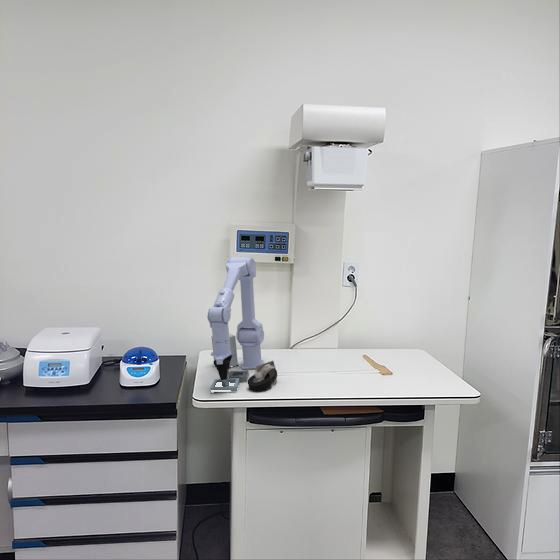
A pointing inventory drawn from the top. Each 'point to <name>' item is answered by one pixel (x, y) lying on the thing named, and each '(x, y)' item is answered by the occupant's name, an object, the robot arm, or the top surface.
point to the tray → (232, 388)
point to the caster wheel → (263, 377)
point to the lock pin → (225, 381)
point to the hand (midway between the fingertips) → (224, 377)
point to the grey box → (232, 349)
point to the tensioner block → (239, 375)
